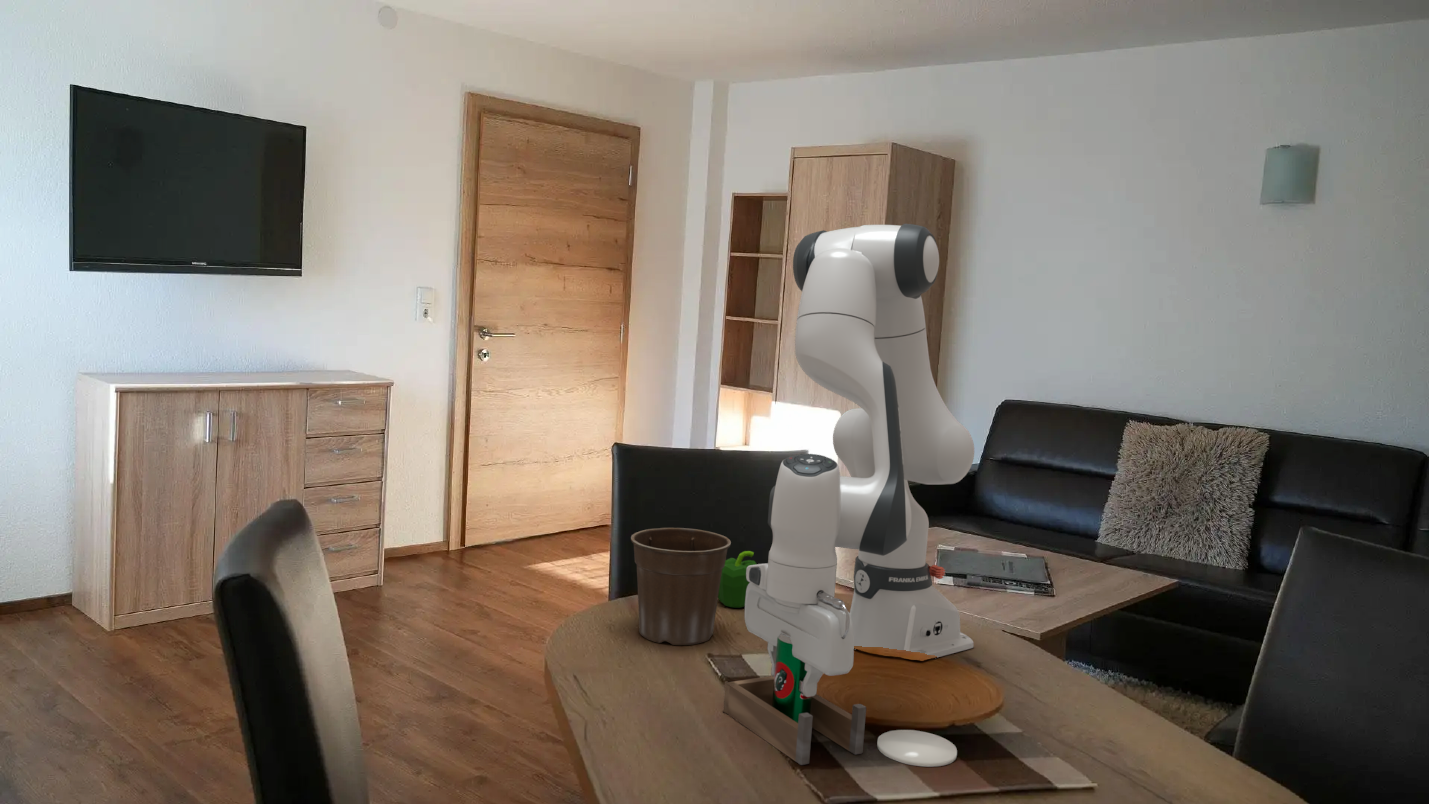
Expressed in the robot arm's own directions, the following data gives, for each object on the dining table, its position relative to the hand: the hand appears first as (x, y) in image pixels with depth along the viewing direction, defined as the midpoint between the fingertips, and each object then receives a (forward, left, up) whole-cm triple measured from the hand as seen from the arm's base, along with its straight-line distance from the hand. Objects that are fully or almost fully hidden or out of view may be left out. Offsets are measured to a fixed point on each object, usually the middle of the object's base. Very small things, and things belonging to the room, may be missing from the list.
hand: (793, 686), depth 144 cm
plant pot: (-5, -41, -6) cm, 42 cm away
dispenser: (0, -1, -6) cm, 6 cm away
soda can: (0, 0, -5) cm, 5 cm away
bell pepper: (-24, -53, -6) cm, 59 cm away
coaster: (-12, +11, -6) cm, 17 cm away
